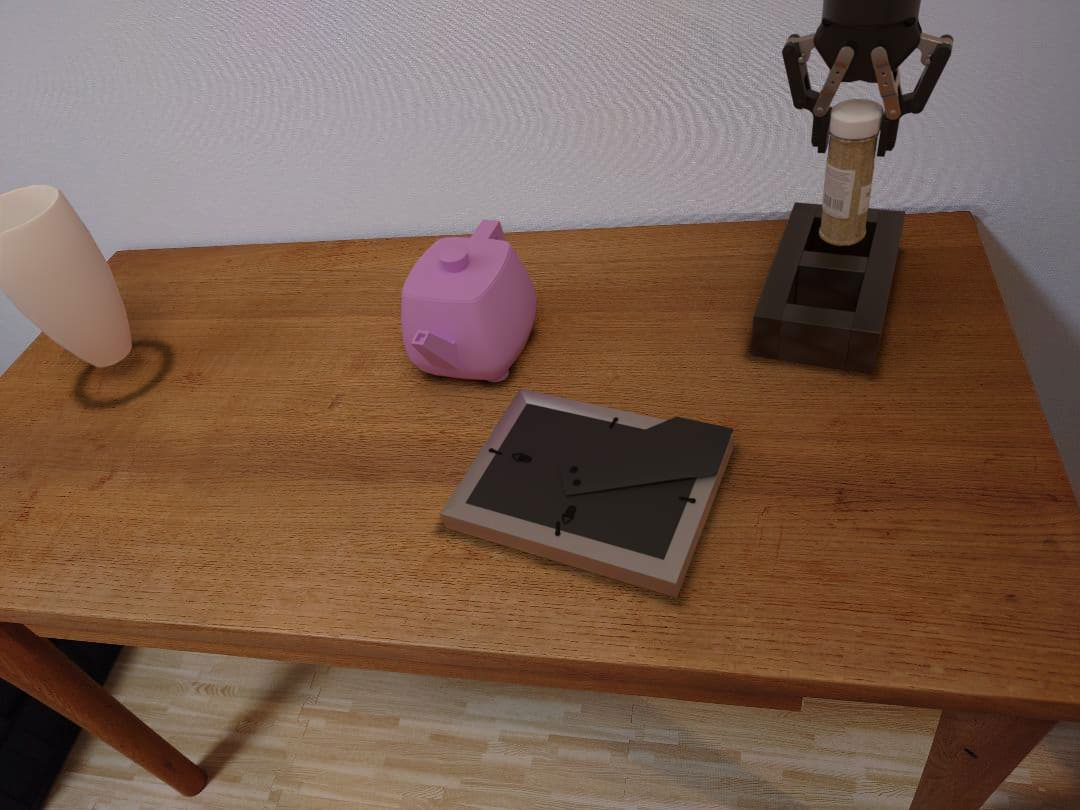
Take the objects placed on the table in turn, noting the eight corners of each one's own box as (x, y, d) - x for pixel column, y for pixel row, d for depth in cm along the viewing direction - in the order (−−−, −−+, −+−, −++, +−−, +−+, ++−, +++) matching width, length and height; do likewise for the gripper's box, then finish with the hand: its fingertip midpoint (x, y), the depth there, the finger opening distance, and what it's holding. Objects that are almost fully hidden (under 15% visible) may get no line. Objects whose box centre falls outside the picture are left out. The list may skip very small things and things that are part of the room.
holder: (898, 251, 86) (905, 211, 83) (873, 374, 74) (880, 333, 71) (791, 240, 91) (794, 202, 87) (751, 355, 79) (753, 316, 75)
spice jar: (874, 240, 80) (895, 111, 71) (832, 252, 80) (847, 124, 70) (849, 218, 83) (866, 92, 74) (809, 230, 83) (820, 105, 73)
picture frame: (732, 450, 71) (523, 403, 79) (733, 428, 69) (518, 382, 77) (677, 598, 61) (445, 528, 69) (675, 578, 59) (437, 508, 67)
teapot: (461, 290, 94) (434, 194, 85) (562, 299, 90) (545, 199, 81) (386, 411, 81) (346, 313, 72) (500, 428, 77) (472, 326, 68)
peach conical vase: (60, 393, 91) (-69, 233, 76) (127, 336, 98) (20, 177, 83) (122, 413, 87) (-2, 247, 72) (188, 351, 93) (86, 187, 78)
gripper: (775, -29, 64) (765, 166, 75) (975, -35, 58) (932, 177, 70) (793, -61, 68) (782, 128, 80) (981, -69, 63) (939, 135, 75)
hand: (852, 150), depth 75 cm, fingers closed on spice jar, 4 cm apart
